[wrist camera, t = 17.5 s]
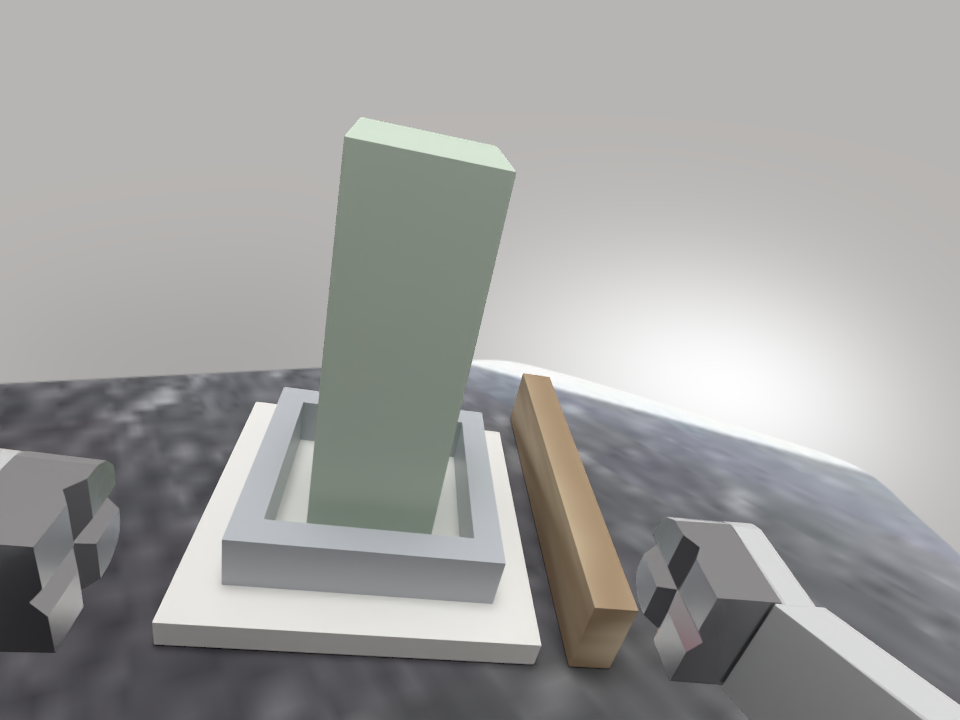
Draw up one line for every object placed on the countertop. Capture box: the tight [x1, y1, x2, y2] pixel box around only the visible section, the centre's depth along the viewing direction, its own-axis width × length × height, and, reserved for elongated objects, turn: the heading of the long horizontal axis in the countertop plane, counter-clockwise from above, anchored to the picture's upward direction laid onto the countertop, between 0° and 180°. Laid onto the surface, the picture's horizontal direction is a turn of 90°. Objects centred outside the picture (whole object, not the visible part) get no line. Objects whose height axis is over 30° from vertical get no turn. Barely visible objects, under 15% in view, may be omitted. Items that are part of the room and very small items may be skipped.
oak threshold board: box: [511, 373, 638, 668], centre depth 26 cm, size 2×15×3 cm, turn 5°
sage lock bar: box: [307, 117, 516, 534], centre depth 20 cm, size 4×4×14 cm
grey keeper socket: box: [152, 387, 541, 664], centre depth 23 cm, size 12×12×3 cm
